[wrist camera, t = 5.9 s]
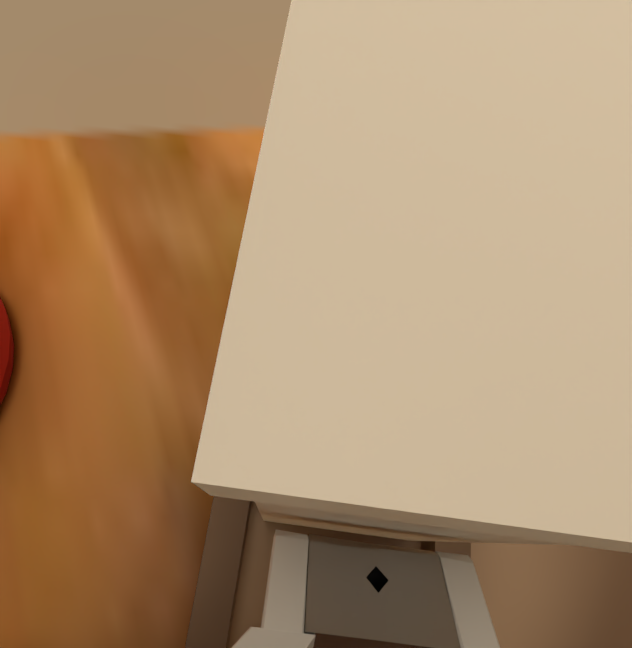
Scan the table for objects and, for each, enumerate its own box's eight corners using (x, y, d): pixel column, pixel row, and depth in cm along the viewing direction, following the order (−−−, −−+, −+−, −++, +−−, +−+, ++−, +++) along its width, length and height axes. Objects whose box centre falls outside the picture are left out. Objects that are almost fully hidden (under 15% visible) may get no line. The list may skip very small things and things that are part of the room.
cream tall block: (255, 526, 12) (193, 481, 2) (280, 372, 14) (306, -71, 4) (415, 548, 12) (1030, 597, 2) (423, 392, 14) (821, 17, 4)
